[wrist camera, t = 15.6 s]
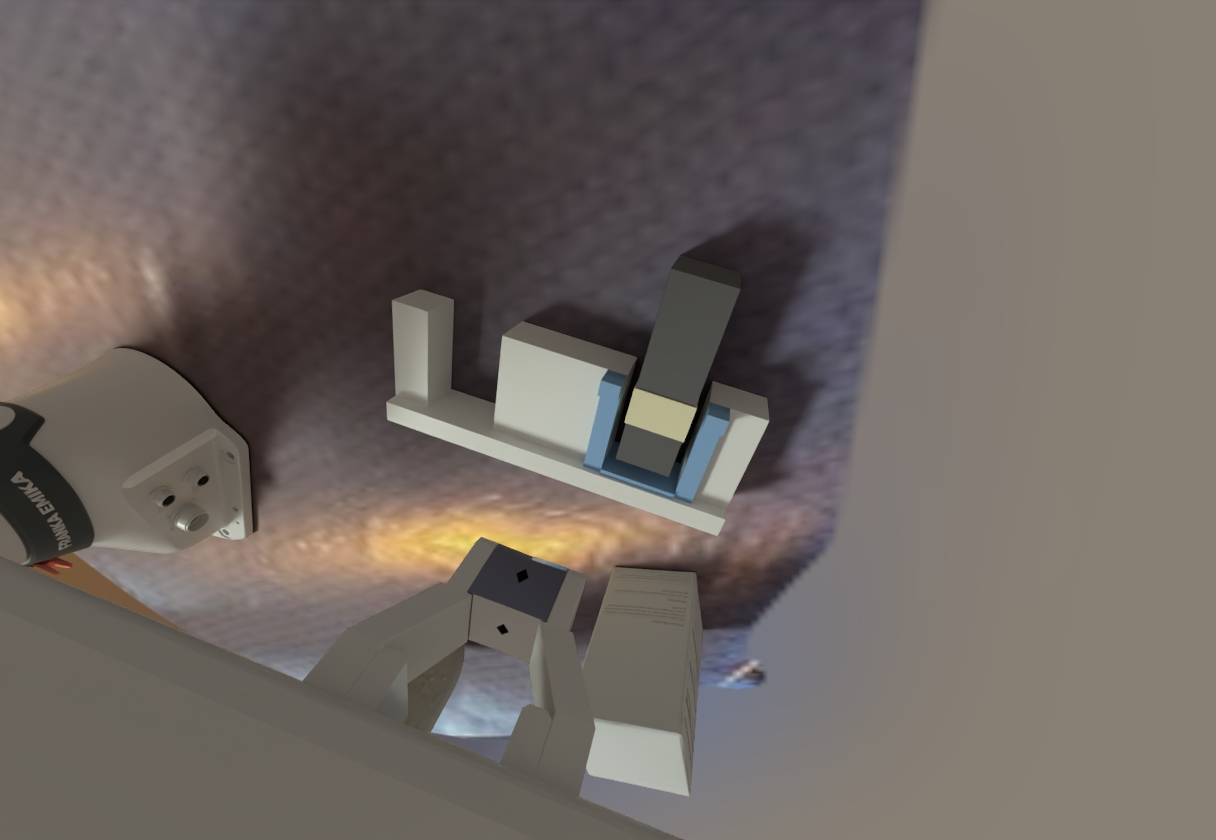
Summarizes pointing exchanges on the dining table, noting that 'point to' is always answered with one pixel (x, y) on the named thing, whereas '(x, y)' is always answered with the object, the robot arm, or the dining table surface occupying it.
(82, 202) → the dining table surface
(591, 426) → the white angular block assembly
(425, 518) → the dining table surface
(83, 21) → the dining table surface
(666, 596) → the supplement box
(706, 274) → the banded gray post
